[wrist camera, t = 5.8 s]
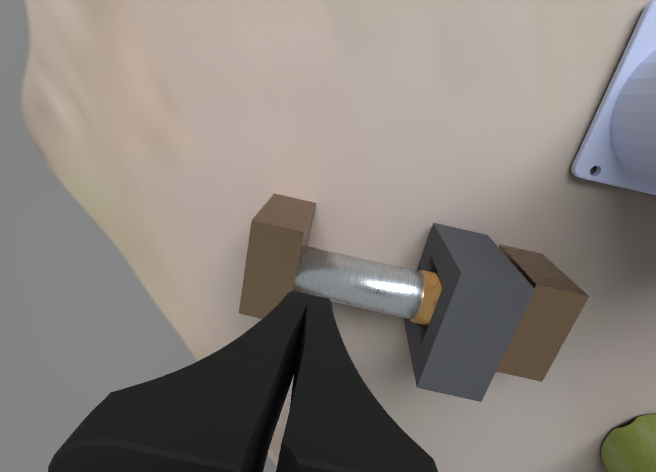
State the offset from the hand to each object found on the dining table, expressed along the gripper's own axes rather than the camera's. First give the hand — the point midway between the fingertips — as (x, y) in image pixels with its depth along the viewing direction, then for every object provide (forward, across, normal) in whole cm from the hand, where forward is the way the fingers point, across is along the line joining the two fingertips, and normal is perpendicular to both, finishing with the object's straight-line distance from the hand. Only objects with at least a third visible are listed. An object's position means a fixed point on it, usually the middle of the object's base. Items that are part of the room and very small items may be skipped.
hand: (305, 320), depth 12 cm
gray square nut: (+10, -7, +2) cm, 12 cm away
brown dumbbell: (+10, -4, +2) cm, 11 cm away
